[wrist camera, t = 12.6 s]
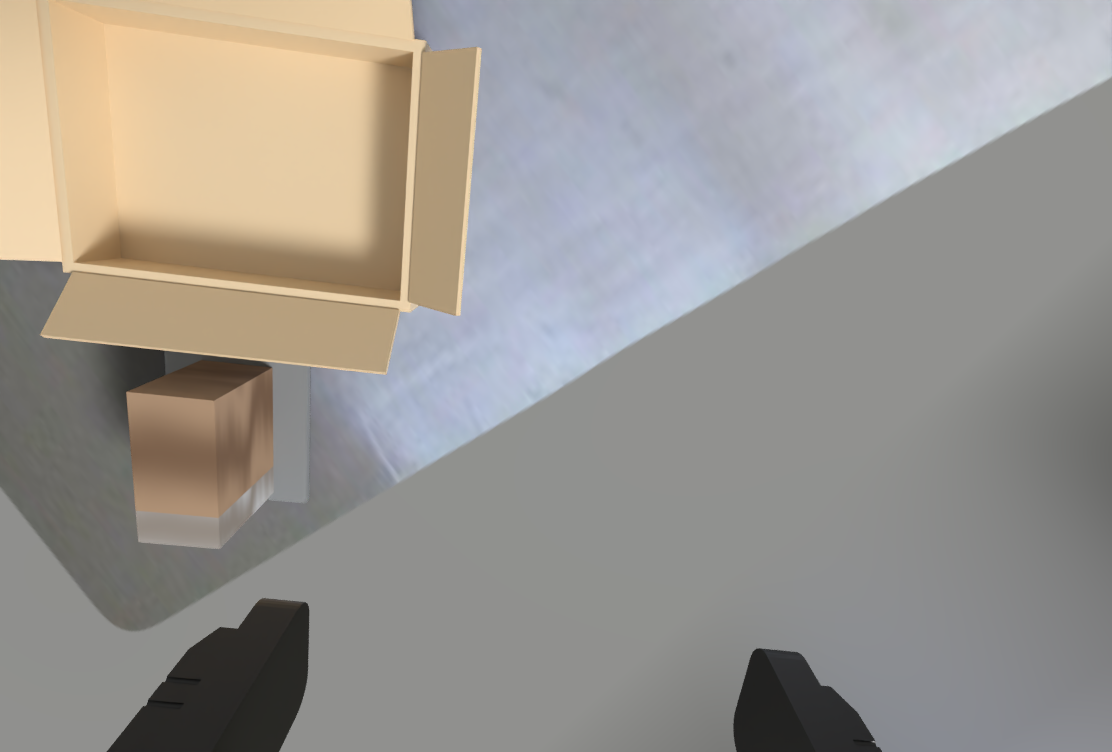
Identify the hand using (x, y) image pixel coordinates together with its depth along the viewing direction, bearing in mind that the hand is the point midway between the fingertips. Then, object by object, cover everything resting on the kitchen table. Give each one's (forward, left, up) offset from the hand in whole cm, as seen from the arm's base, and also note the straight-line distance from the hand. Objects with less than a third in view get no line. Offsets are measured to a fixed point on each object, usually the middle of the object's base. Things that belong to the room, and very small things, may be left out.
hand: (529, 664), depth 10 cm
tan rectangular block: (+8, -19, -28) cm, 35 cm away
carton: (-9, -17, -29) cm, 34 cm away
